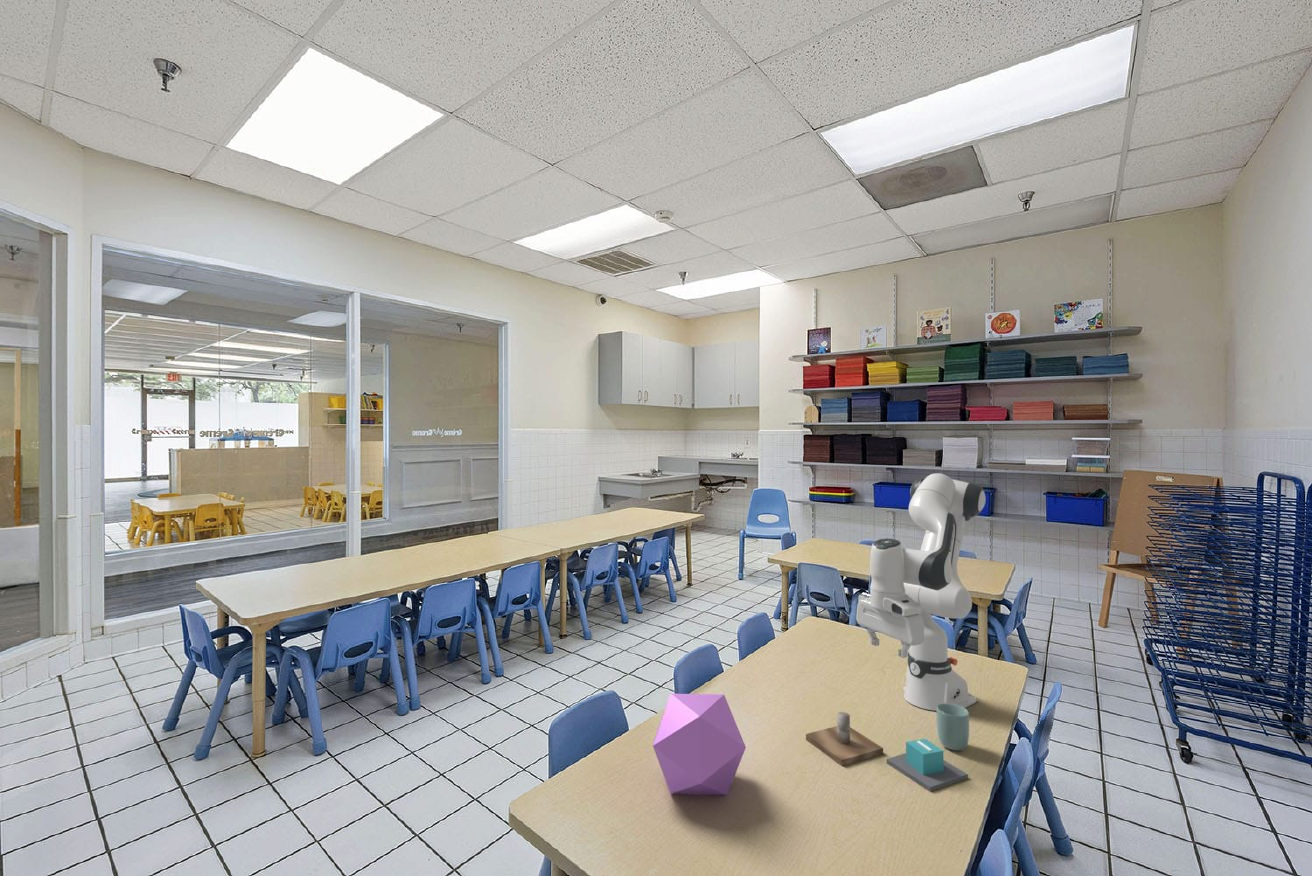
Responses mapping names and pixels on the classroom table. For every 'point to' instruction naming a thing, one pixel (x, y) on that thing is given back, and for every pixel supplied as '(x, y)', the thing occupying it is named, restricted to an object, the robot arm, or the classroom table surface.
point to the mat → (928, 780)
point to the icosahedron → (698, 744)
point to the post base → (842, 749)
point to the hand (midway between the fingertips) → (888, 650)
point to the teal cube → (924, 756)
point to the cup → (953, 726)
